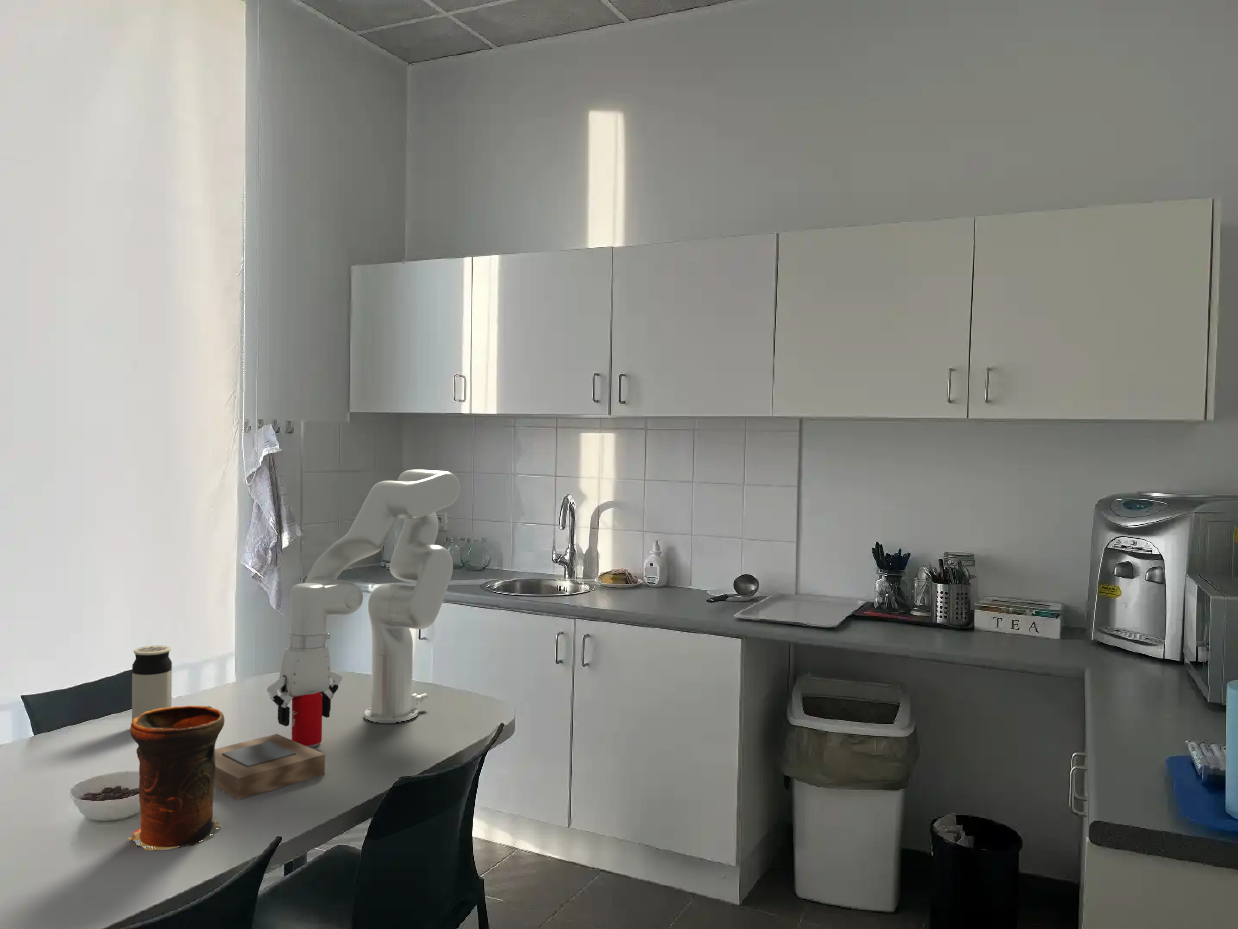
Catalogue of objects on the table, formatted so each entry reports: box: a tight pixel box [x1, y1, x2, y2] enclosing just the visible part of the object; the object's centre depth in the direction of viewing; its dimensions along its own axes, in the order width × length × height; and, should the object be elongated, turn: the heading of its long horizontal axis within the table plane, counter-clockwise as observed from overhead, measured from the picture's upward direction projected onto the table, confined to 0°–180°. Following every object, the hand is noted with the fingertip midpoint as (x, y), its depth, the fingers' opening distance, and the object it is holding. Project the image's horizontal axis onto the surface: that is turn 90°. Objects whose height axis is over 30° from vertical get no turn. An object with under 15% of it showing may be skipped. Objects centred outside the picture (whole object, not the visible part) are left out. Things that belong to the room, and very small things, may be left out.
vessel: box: [127, 705, 225, 852], centre depth 160 cm, size 14×14×20 cm
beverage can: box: [291, 691, 323, 749], centre depth 205 cm, size 6×6×12 cm
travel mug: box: [131, 645, 173, 722], centre depth 213 cm, size 8×8×18 cm
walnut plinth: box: [214, 733, 326, 801], centre depth 187 cm, size 18×18×4 cm
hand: (304, 720), depth 204 cm, fingers open, 9 cm apart
